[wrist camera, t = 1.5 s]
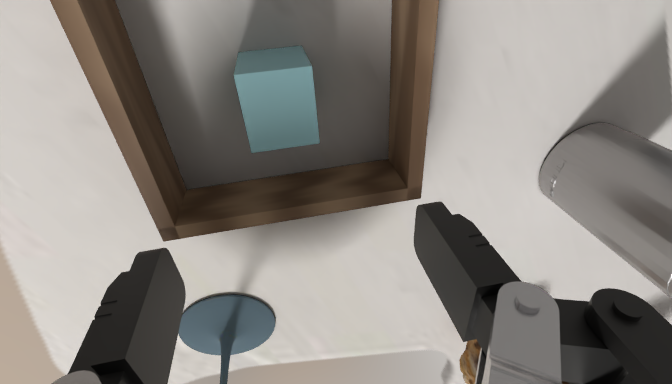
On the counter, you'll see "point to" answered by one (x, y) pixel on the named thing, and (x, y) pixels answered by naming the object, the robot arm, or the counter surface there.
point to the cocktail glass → (226, 327)
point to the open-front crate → (266, 193)
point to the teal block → (277, 98)
